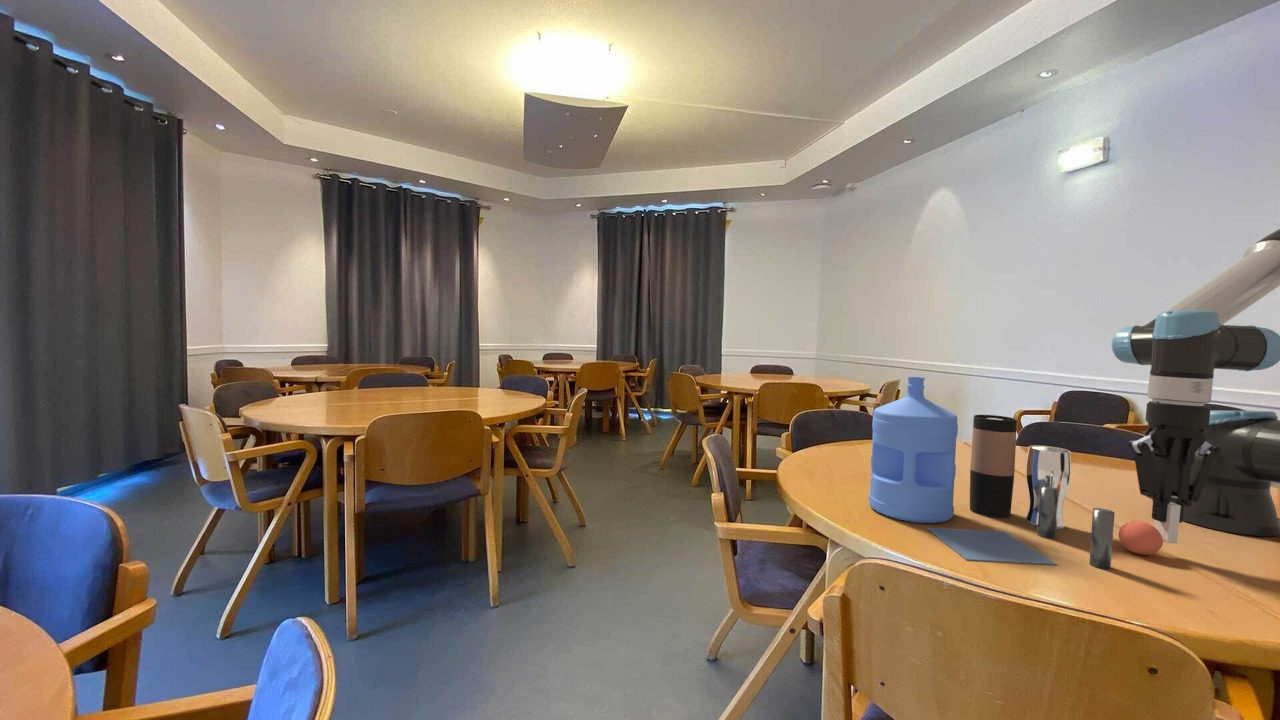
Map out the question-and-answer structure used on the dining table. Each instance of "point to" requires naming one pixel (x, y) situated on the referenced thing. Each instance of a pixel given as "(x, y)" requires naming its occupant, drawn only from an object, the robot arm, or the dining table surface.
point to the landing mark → (989, 546)
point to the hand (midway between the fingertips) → (1164, 540)
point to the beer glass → (1047, 478)
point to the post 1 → (1047, 512)
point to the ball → (1140, 537)
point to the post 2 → (1101, 538)
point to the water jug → (913, 458)
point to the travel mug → (992, 465)
